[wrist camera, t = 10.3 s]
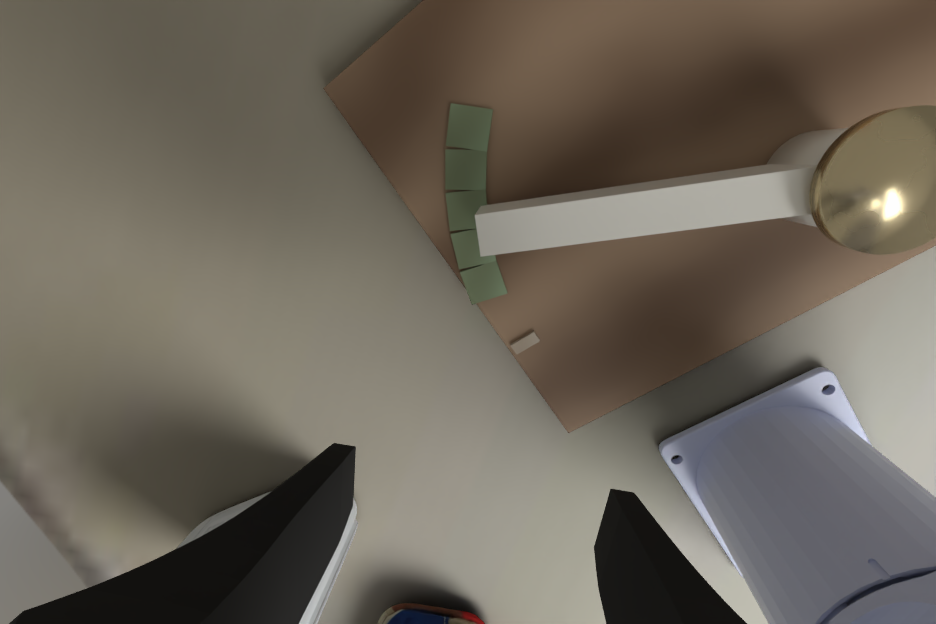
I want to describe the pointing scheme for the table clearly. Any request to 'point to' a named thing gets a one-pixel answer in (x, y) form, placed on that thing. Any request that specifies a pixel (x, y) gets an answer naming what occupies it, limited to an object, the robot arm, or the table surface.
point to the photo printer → (331, 573)
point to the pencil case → (426, 615)
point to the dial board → (628, 162)
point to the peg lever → (757, 194)
